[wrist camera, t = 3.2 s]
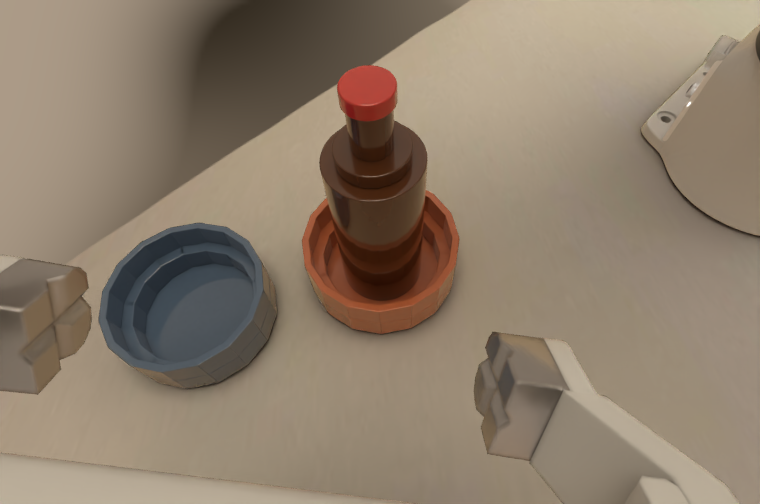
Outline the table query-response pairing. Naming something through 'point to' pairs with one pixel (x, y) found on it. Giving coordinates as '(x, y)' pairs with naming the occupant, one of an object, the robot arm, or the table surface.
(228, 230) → the bowl
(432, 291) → the bowl
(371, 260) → the sauce bottle
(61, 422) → the table surface
